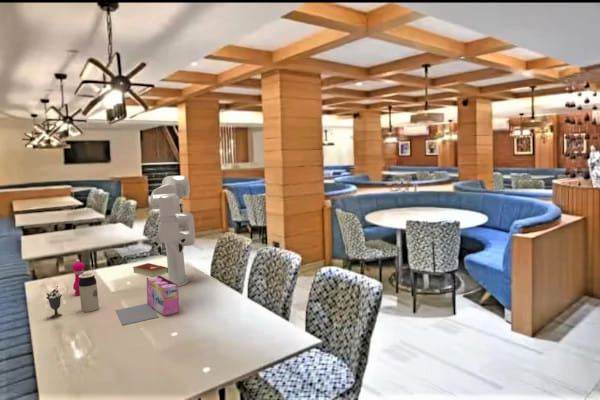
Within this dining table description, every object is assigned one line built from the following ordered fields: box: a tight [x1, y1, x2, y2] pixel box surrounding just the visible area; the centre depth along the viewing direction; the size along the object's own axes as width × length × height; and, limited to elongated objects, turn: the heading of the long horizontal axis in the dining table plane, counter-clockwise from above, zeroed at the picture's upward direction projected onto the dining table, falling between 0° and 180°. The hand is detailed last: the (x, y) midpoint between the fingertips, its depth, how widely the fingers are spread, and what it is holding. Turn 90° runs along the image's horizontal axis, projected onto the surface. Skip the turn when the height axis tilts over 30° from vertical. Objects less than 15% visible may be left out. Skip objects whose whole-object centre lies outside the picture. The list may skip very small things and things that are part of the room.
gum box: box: [146, 275, 180, 316], centre depth 219 cm, size 24×8×14 cm, turn 39°
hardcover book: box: [132, 262, 168, 278], centre depth 284 cm, size 12×21×4 cm, turn 53°
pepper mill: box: [72, 259, 85, 297], centre depth 245 cm, size 7×7×20 cm
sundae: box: [46, 287, 63, 319], centre depth 213 cm, size 7×7×15 cm
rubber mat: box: [115, 303, 159, 326], centre depth 213 cm, size 16×22×1 cm
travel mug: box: [79, 272, 100, 313], centre depth 220 cm, size 8×8×18 cm
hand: (170, 253), depth 222 cm, fingers open, 9 cm apart
